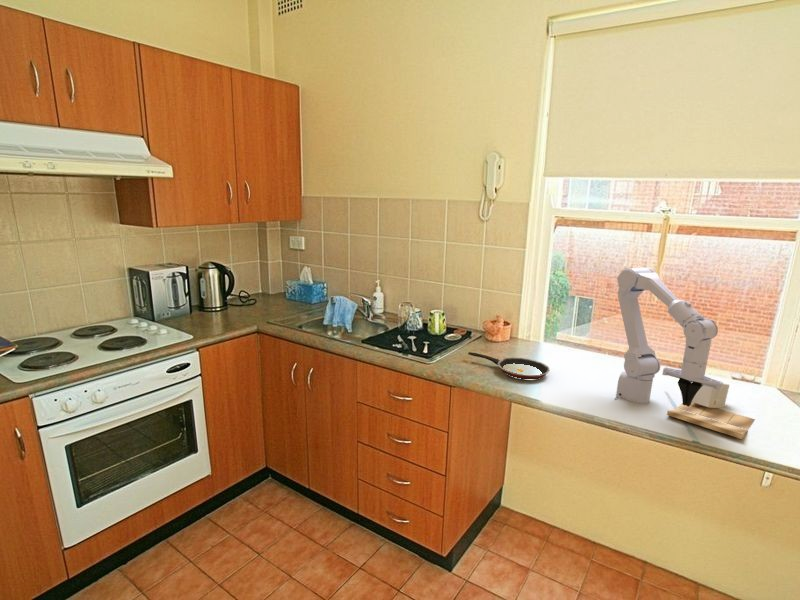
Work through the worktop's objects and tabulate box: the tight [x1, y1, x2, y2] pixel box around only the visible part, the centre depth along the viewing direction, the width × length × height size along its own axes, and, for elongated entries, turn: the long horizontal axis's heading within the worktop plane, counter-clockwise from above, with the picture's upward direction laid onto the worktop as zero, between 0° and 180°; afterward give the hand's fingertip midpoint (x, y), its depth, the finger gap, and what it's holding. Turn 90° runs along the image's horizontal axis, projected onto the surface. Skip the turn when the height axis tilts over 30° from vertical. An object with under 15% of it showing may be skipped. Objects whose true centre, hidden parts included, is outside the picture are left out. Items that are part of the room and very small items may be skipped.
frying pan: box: [467, 351, 551, 380], centre depth 170 cm, size 19×32×4 cm, turn 56°
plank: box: [666, 407, 749, 440], centre depth 129 cm, size 18×10×1 cm, turn 43°
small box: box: [692, 382, 730, 409], centre depth 141 cm, size 8×6×10 cm
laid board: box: [677, 402, 756, 431], centre depth 136 cm, size 18×10×1 cm, turn 43°
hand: (686, 404), depth 130 cm, fingers closed
